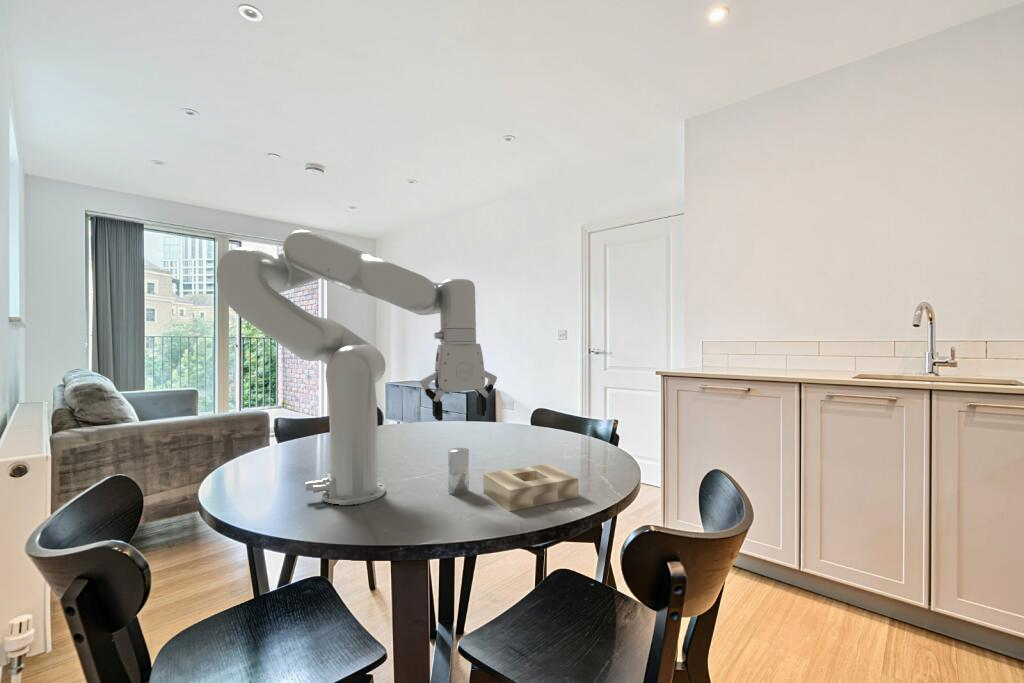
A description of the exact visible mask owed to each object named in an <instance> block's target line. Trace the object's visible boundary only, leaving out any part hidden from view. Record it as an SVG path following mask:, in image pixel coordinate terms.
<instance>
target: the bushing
mask: <svg viewBox="0 0 1024 683" xmlns="http://www.w3.org/2000/svg"><path fill="white" fill-rule="evenodd" d="M469 453H470V450H469V448H467V447H452V448H449V449H447V489H448V490H447V492H448V494H449V495H451V496H465V495H467V494H469V493H470V454H469Z"/></svg>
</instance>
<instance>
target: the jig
mask: <svg viewBox="0 0 1024 683" xmlns="http://www.w3.org/2000/svg"><path fill="white" fill-rule="evenodd" d="M482 476H483V494H485V495H486V496H488V497H489V498H490V499H492V500H493V502H496V503H497V504H499V506H501V507H503V508H504V509H506V510H507V511H508V512H513V511H519V510H523V509H528V508H533V507H537V506H543V505H549V504H553V503H558V502H561V501H563V502H564V501H568V500H573V499H577V498H579V477H577V476H575V475H573V474H570V473H569V472H566V471H564V470H562V469H559V468H557V467H555V466H553V465H550V464H548V463H546V464H539V465H532V466H527V467H518V468H514V469H512V468H511V469H505V470H501V471H493V472H487V473H483V475H482Z"/></svg>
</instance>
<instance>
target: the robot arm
mask: <svg viewBox="0 0 1024 683" xmlns="http://www.w3.org/2000/svg"><path fill="white" fill-rule="evenodd" d="M282 251H283V252H282V253H279V254H275V255H272V254H268V253H267V252H263V251H262V250H259V249H256V248H255V249H254V248H250V247H236V248H232V249H230V250H228V251H226V252H225V253H223V255H222V256H221V257H220V259H219V261H218V263H217V267H216V282H217V286H218V289H219V293H220V294H221V296H222V298H223V300H224V301H225V303H226V304H227V305H228V306H229V308H231V310H232V311H233V312H234V313H236V314H237V315H238V316H239V317H240V318H241V319H243V320H244V321H246V322H247V323H249V324H250V325H252V326H253V327H255V328H256V329H258V330H259V331H261V332H262V333H263V334H264V335H266V336H267V337H269V338H270V339H271V340H272V341H275V342H276V343H277V344H279V345H281V346H282V347H284V348H285V349H286V350H287V351H289V352H291V353H292V354H293V355H295V356H296V357H297V358H299V359H301V360H303V361H308V362H317V361H320V362H322V363H324V364H325V365H326V367H325V381H326V388H327V395H328V396H327V397H328V411H329V416H328V418H329V419H328V421H329V422H328V423H329V473H326V477H322V478H321V479H320V480H309V481H305V484H304V485H305V486H304V488H305V492H312V493H313V494H314V493H320V492H321V500H322V499H323V500H324V501H325V502H324V501H323V500H322V501H323V502H324V503H326V502H328V503H332V504H331V505H333V504H339V505H338V506H353V504H354V505H360V504H365V503H369V502H373V501H375V500H377V499H380V498H381V497H383V496H384V495H385V493H386V486H385V485H384V484H383V483H382V482H379V481H378V480H379V476H378V470H379V469H378V404H377V403H378V402H377V392H376V390H377V389H376V383H378V382H379V381H380V380H382V378H383V376H384V374H385V372H386V368H387V366H386V365H387V364H386V360H385V356H384V355H383V354H382V352H381V351H380V350H379V349H378V348H377V347H375V346H374V345H372V344H371V343H370V342H368V341H366V340H365V339H364V338H362V337H360V336H359V335H358V334H356V333H355V332H353V331H352V330H350V329H349V328H347V327H345V326H344V325H342V324H341V323H339V322H338V321H335V320H333V319H329V318H325V317H319V316H315V315H313V314H311V313H310V312H308V311H306V310H305V309H303V308H302V307H300V306H299V305H297V304H295V302H293V301H292V300H290V299H289V298H287V297H286V296H284V295H282V293H284V292H287V291H290V290H293V289H296V288H299V287H300V286H305V285H307V284H310V283H312V282H315V281H318V280H320V279H321V280H324V281H327V282H329V283H332V284H335V285H337V286H339V287H341V288H344V289H346V290H349V291H352V292H355V293H359V294H360V293H361V294H364V295H368V296H371V297H373V298H376V299H379V300H381V301H383V302H385V303H389V304H391V305H393V306H396V307H398V308H402V309H404V310H405V311H408V312H412V313H413V314H416V315H419V316H431V315H436V314H439V316H440V319H439V320H440V329H439V331H438V332H434V333H433V337H434V339H435V340H437V339H438V340H439V342H440V344H438V345H437V349H436V354H435V355H436V356H435V363H434V364H435V365H434V372H432V373H430V374H429V375H427V376H424V377H423V378H422V379H420V380H419V381H418V384H419V385H420V388H421V389H422V391H423V393H424V394H425V396H427V397H428V398H429V399H430V400H431V403H432V404H431V406H432V416H433V418H434V419H435V420H437V421H439V422H440V421H443V413H444V412H443V401H441V398H442V397H443V396H444V394H445V393H455V392H468V391H475V392H476V394H477V396H476V398H475V400H476V403H475V405H476V415H477V416H481V417H485V416H486V411H487V398H488V397H489V394H490V393H491V392H492V391H493V389H494V386H495V383H496V382H497V380H498V376H496V375H494V374H493V373H491V372H489V371H486V370H485V363H484V356H483V352H482V351H483V350H482V347H481V346H482V345H481V343H477V321H476V319H477V318H476V314H477V313H476V311H477V310H476V286H475V283H474V282H473V280H471V279H464V278H453V279H452V278H450V279H446V280H445V279H444V280H443V281H442V282H434V281H432V280H430V278H428V277H426V276H424V275H422V274H419V273H417V272H414V271H411V270H410V269H407V268H404V267H402V266H399V265H397V264H394V263H393V262H390V261H386V260H384V259H381V258H378V257H376V256H374V255H372V254H369V253H367V252H364V251H362V250H360V249H357V248H355V247H352V246H350V245H347V244H345V243H342V242H339V241H337V240H335V239H332V238H329V237H326V236H325V235H322V234H320V233H317V232H314V231H311V230H305V229H299V230H294V231H293V232H291V233H289V234H288V236H287V237H285V239H284V241H283V245H282ZM486 380H487V384H486ZM432 382H434V386H435V389H434V391H433V390H432V389H431V388H430V385H429V384H430V383H432ZM328 503H327V504H328Z"/></svg>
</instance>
